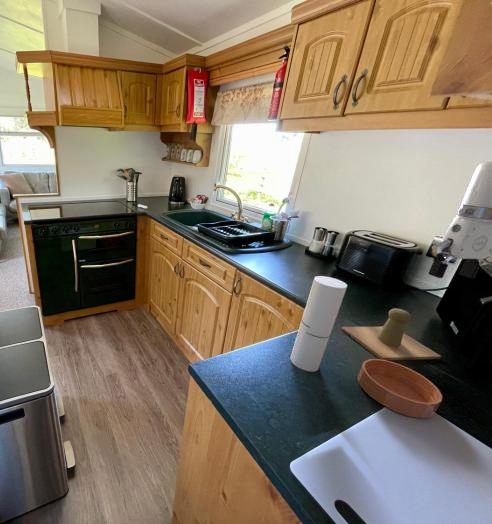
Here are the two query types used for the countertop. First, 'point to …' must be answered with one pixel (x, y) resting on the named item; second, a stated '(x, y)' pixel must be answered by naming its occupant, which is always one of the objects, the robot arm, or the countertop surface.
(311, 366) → the cylindrical container
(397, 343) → the pepper shaker
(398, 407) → the terracotta dish
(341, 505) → the countertop surface
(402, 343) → the cutting board
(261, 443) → the countertop surface
